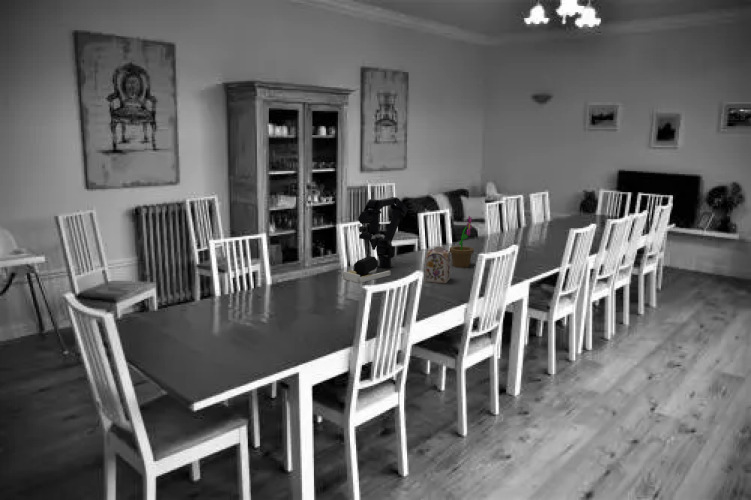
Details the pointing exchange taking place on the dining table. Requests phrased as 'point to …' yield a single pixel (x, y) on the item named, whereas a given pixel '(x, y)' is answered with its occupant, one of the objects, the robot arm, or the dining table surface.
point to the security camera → (365, 265)
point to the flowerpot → (462, 250)
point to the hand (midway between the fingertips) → (373, 249)
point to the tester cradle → (356, 278)
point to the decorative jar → (438, 265)
